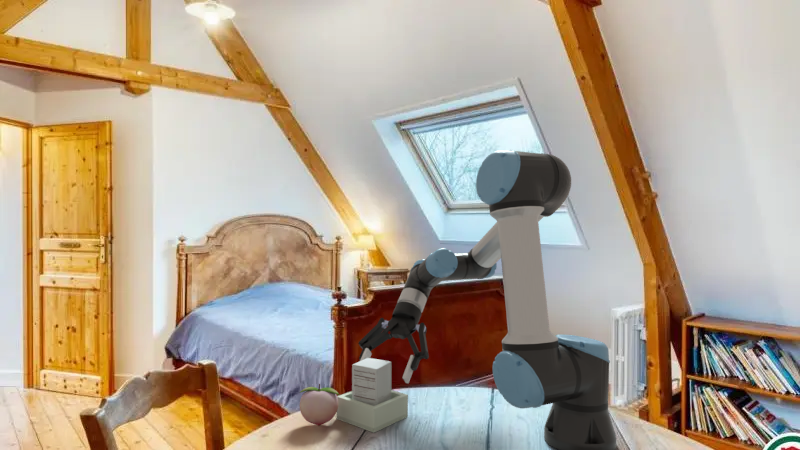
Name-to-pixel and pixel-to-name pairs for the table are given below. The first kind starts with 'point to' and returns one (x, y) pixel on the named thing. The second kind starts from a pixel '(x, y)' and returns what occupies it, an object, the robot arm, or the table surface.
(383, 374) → the supplement box
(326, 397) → the decorative fruit
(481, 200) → the robot arm
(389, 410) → the open square container
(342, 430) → the table surface
